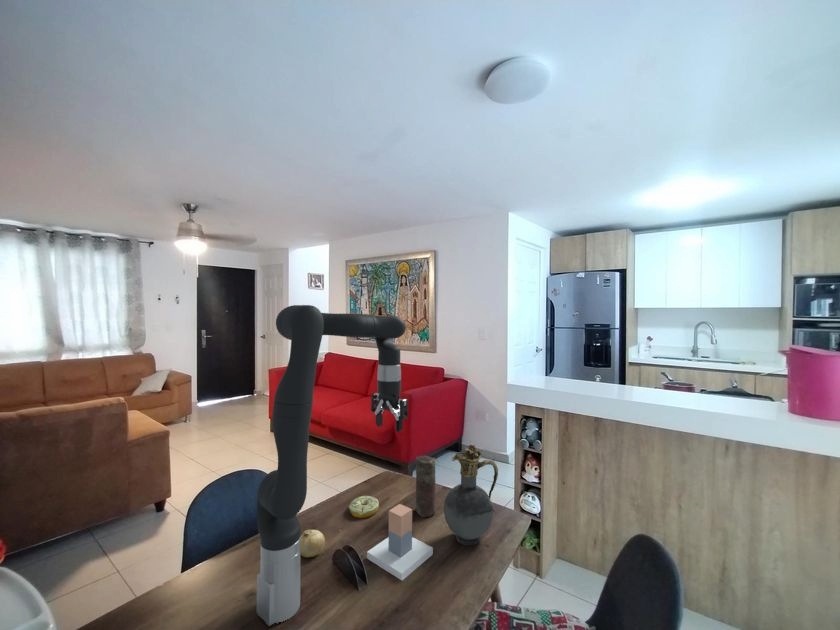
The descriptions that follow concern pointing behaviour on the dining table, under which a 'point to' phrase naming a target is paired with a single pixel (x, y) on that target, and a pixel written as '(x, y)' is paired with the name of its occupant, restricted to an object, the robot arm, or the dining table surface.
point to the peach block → (400, 520)
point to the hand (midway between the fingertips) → (388, 428)
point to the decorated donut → (364, 506)
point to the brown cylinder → (425, 486)
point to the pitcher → (469, 500)
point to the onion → (311, 543)
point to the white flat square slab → (397, 564)
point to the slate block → (400, 543)
